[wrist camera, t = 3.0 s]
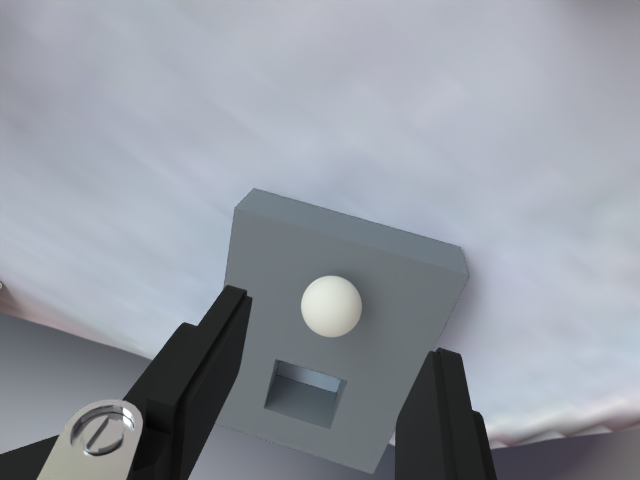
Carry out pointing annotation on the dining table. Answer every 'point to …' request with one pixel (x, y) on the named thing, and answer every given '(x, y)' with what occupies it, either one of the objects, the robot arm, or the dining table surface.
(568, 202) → the dining table surface
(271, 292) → the grey flat block
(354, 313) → the ball
